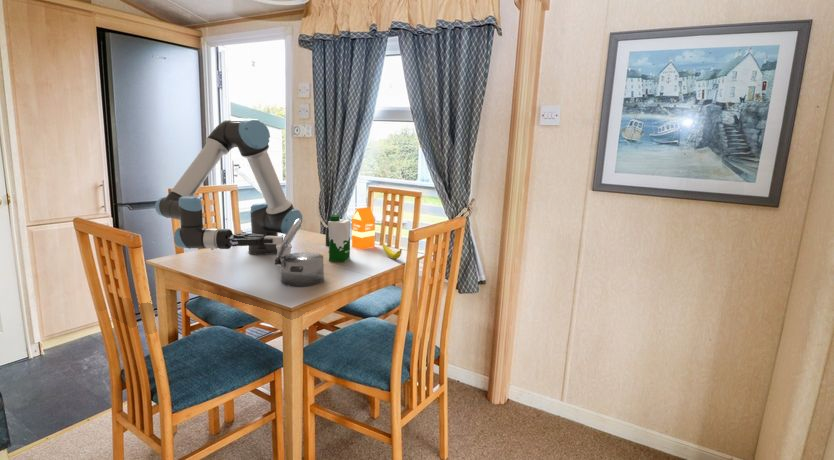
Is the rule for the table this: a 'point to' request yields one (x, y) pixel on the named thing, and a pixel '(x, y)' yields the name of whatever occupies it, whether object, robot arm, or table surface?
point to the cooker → (301, 269)
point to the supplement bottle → (327, 236)
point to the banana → (391, 252)
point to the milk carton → (339, 239)
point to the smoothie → (285, 251)
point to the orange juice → (363, 228)
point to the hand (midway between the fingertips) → (282, 240)
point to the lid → (289, 237)
